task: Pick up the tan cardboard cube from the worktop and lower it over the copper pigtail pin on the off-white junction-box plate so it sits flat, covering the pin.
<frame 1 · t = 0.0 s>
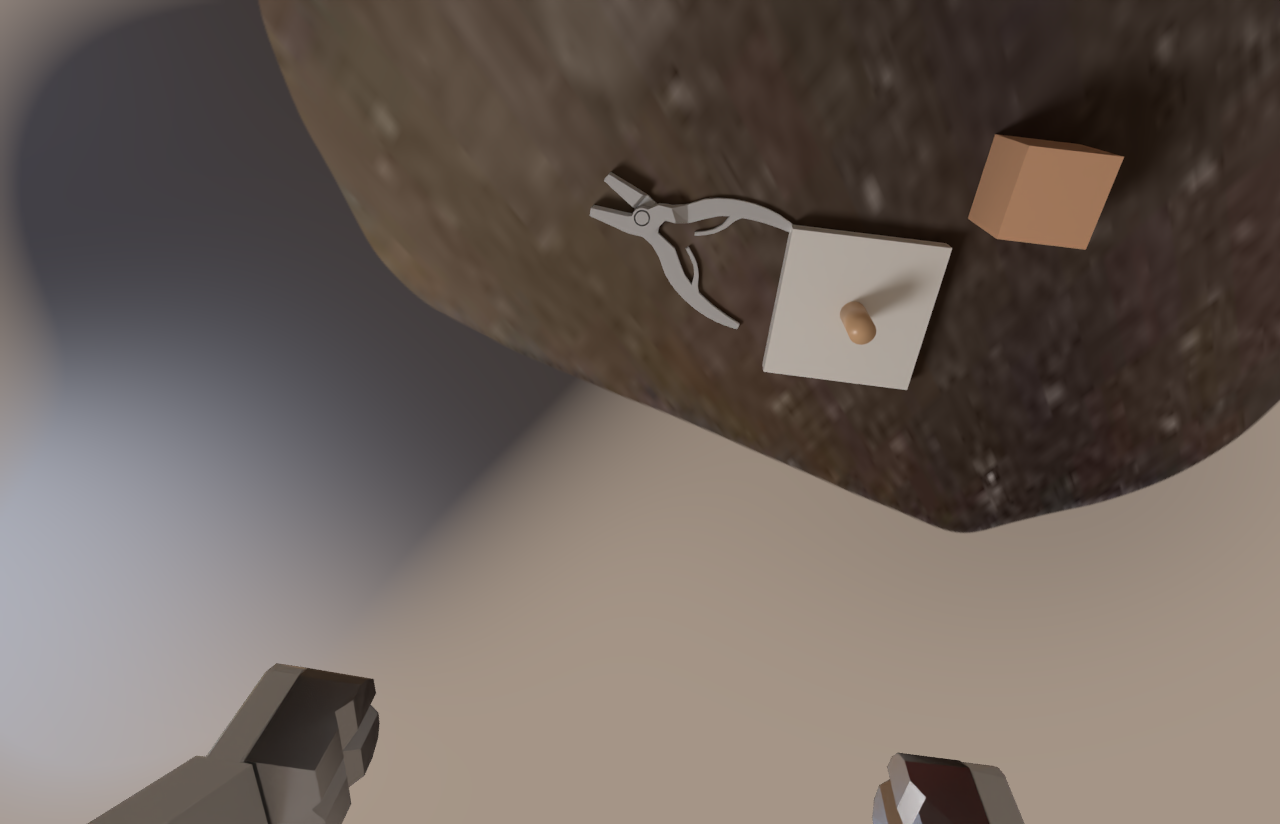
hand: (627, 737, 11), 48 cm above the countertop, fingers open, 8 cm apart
tan cardboard cube: (1022, 182, 51), on the countertop
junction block: (849, 306, 57), on the countertop
pliers: (684, 234, 56), on the countertop, touching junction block
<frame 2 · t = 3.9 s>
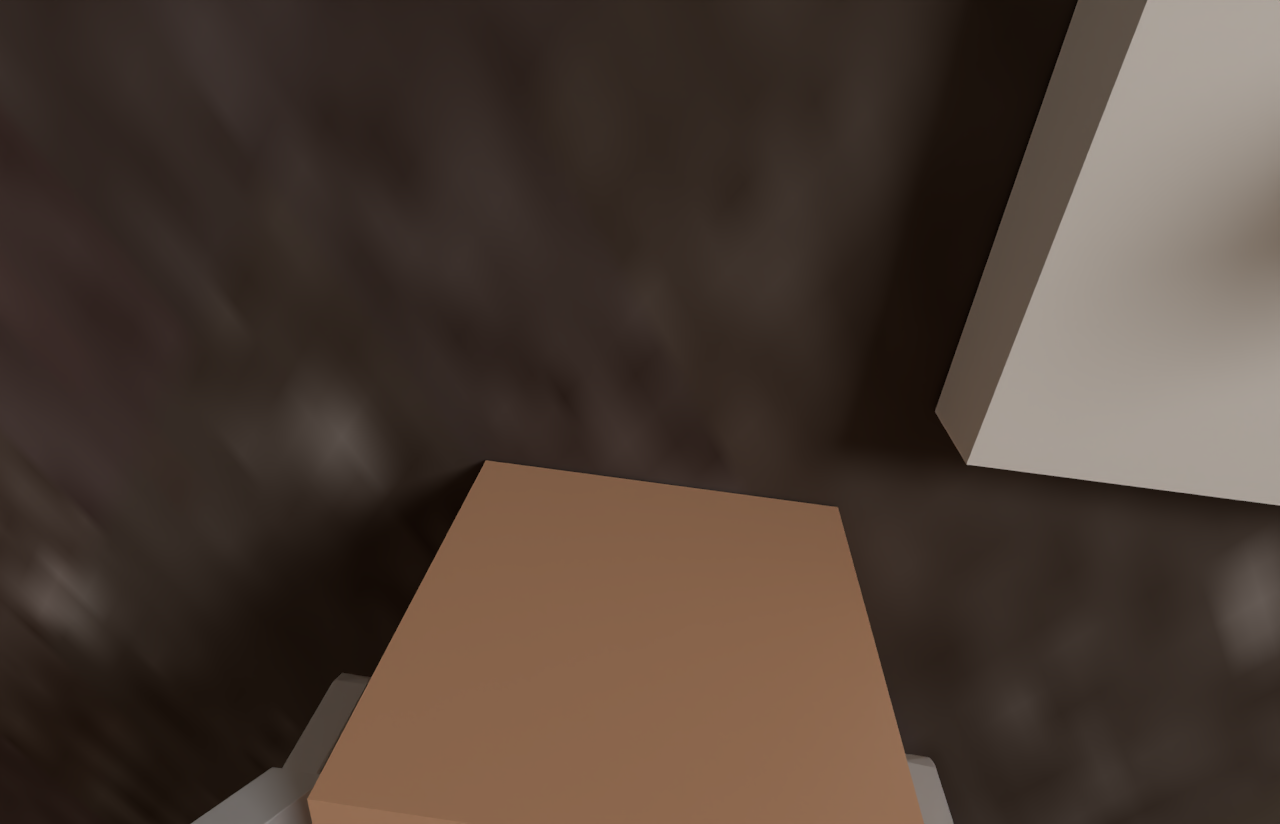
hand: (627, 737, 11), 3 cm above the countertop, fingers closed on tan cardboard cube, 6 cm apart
tan cardboard cube: (642, 613, 13), on the countertop, touching gripper
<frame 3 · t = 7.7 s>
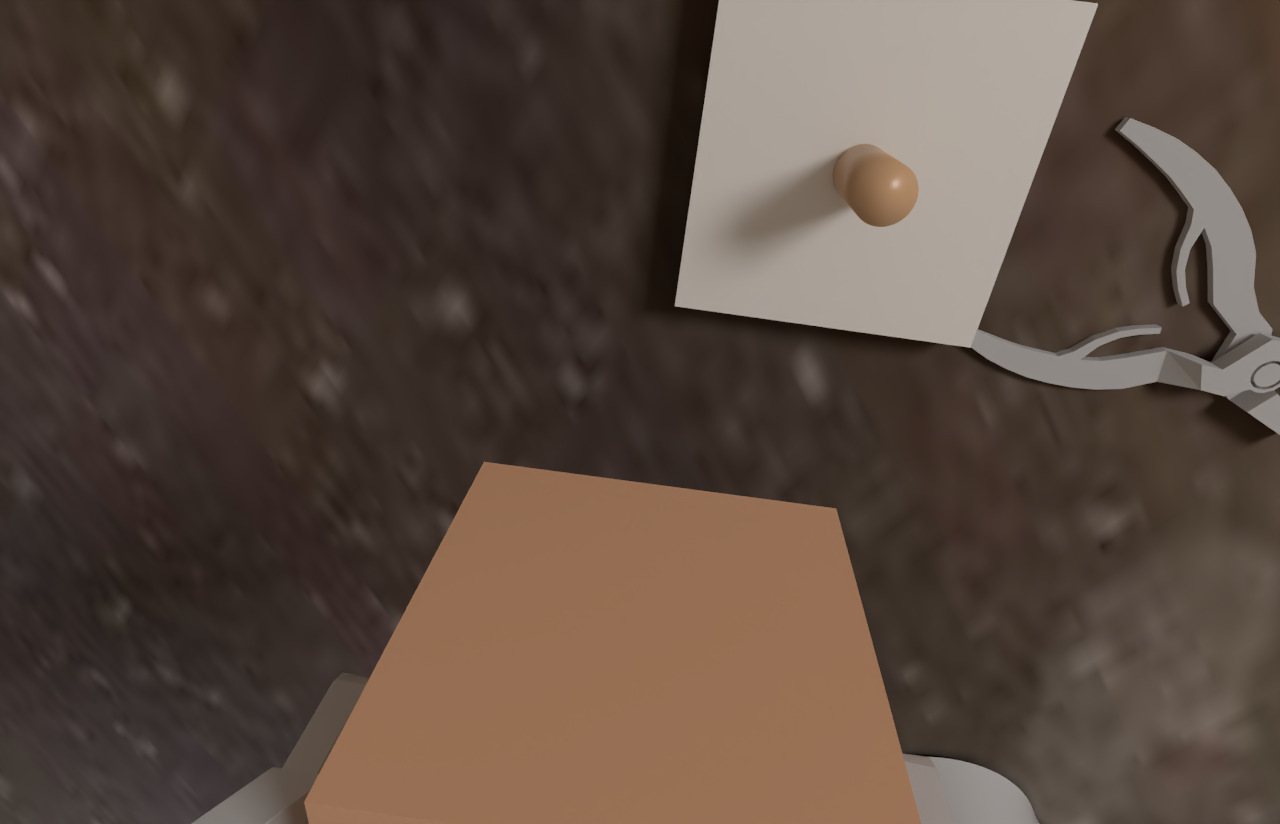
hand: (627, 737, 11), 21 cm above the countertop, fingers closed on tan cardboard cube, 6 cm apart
tan cardboard cube: (641, 614, 13), point 19 cm above the countertop, touching gripper
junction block: (853, 166, 27), on the countertop
pliers: (1171, 316, 29), on the countertop, touching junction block
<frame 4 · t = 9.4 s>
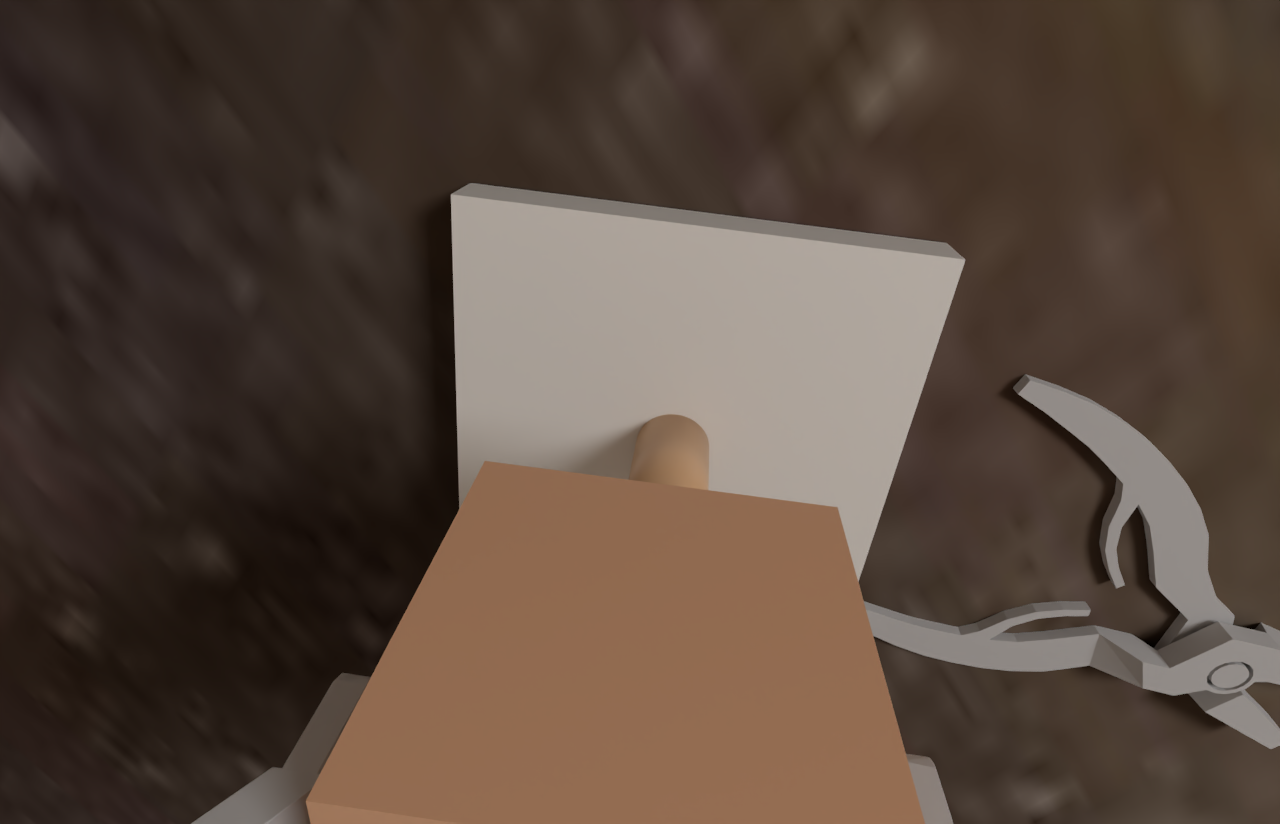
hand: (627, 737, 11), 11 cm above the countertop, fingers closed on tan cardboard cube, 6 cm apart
tan cardboard cube: (642, 614, 13), point 8 cm above the countertop, touching gripper
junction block: (675, 420, 20), on the countertop
pliers: (1105, 587, 22), on the countertop, touching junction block
when the fingers open (5 cm above the countertop, at t = 11.1 s): tan cardboard cube stays where it is, resting on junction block.
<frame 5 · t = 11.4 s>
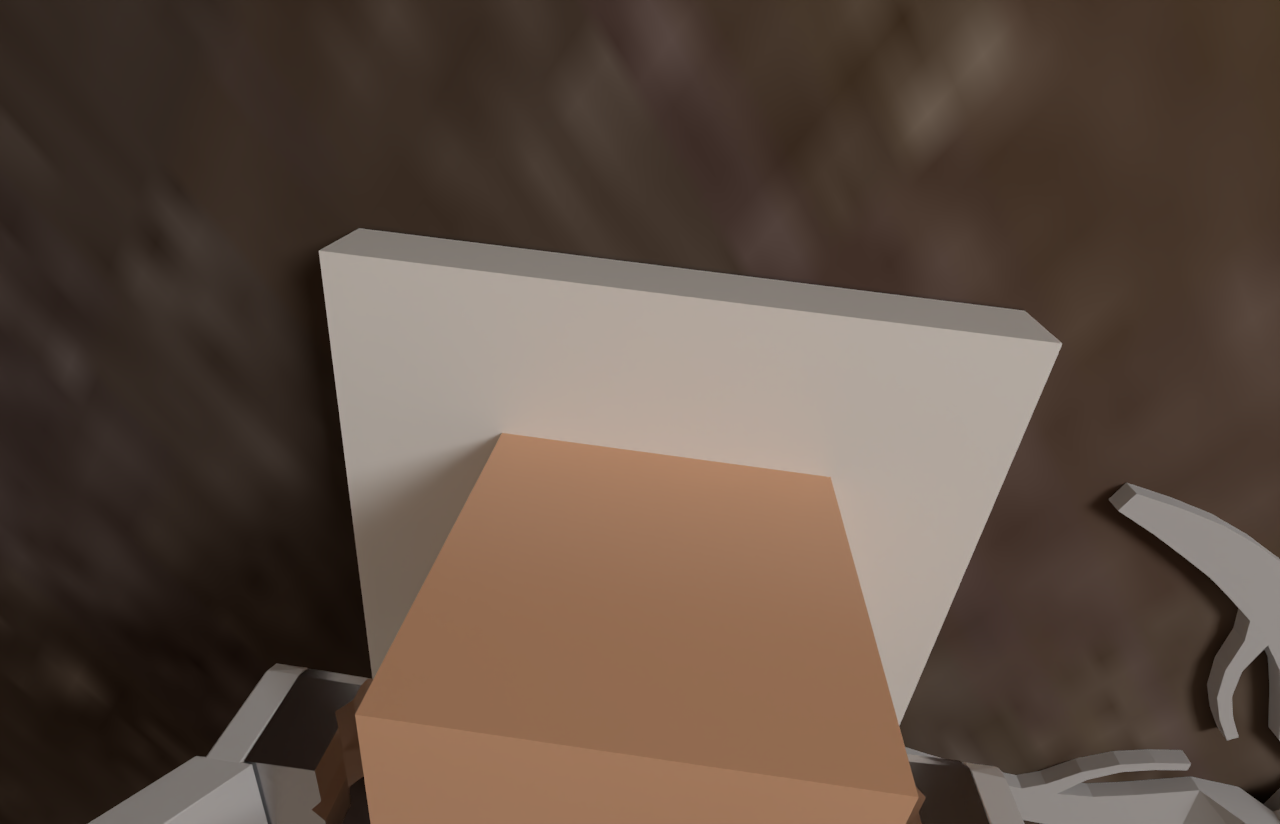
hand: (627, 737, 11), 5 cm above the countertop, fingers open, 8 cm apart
tan cardboard cube: (647, 579, 14), point 1 cm above the countertop, touching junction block
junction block: (651, 532, 15), on the countertop
pliers: (1205, 728, 18), on the countertop
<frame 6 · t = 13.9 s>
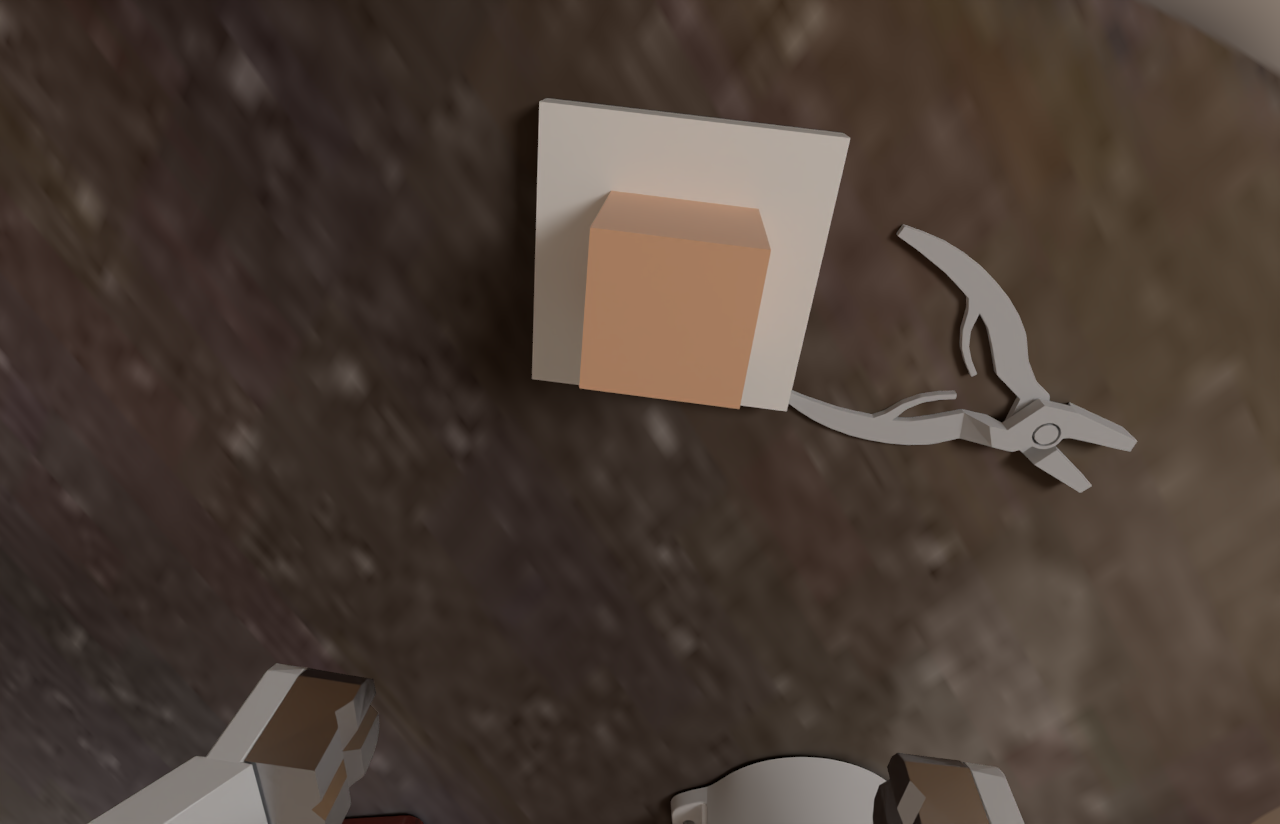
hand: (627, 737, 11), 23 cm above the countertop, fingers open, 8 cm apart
tan cardboard cube: (675, 271, 30), point 1 cm above the countertop, touching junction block
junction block: (675, 260, 31), on the countertop
pliers: (969, 382, 33), on the countertop
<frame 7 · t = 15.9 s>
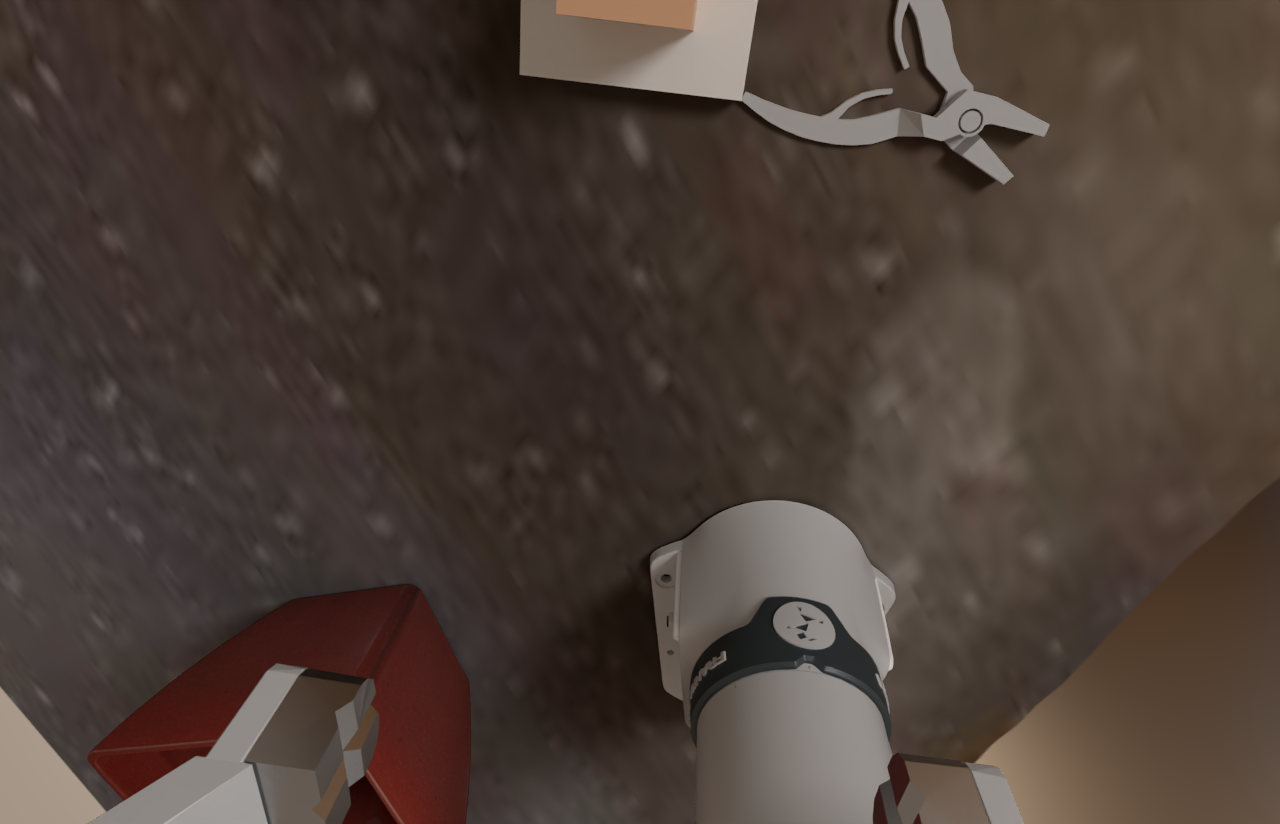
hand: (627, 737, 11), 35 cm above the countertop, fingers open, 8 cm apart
plant pot: (381, 642, 62), on the countertop
pliers: (904, 84, 38), on the countertop
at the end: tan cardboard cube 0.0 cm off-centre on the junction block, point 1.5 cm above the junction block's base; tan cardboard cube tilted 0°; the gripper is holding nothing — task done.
